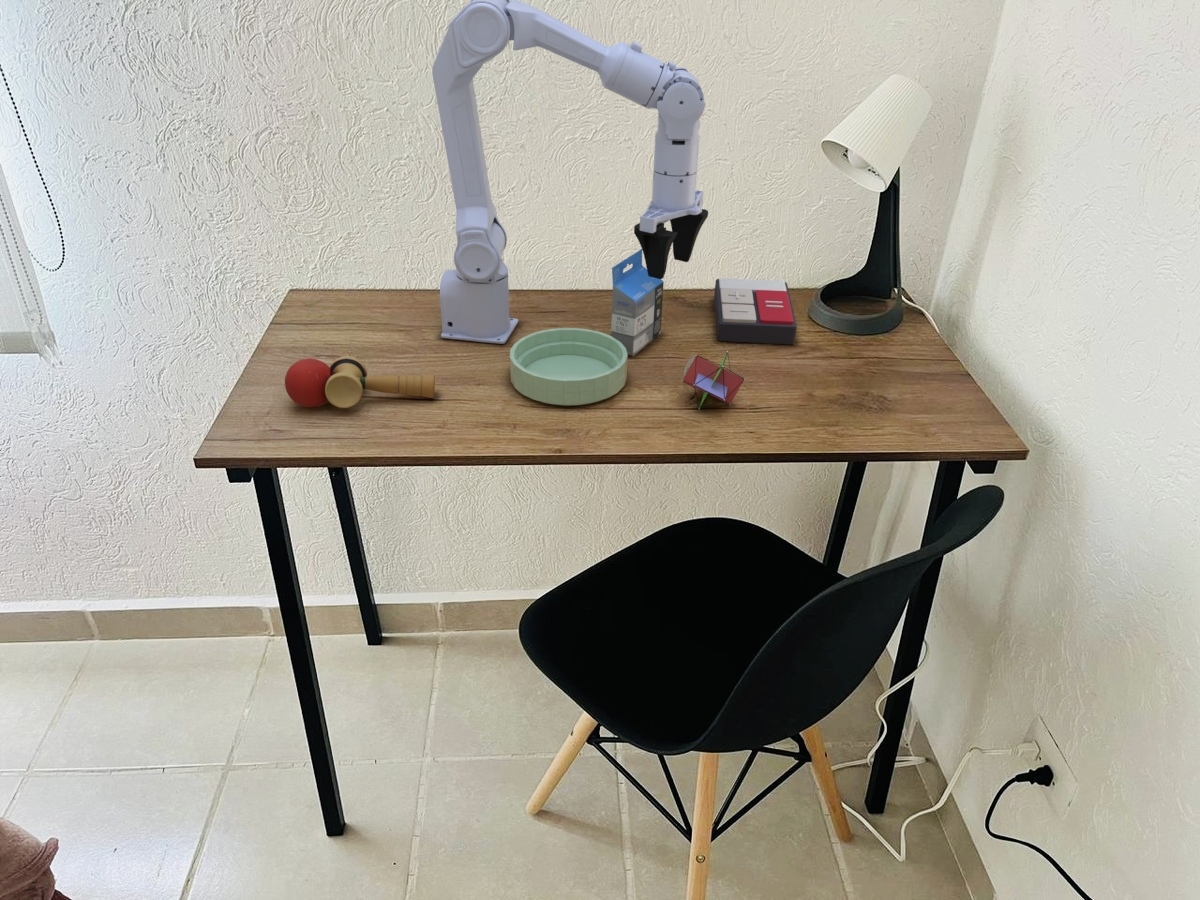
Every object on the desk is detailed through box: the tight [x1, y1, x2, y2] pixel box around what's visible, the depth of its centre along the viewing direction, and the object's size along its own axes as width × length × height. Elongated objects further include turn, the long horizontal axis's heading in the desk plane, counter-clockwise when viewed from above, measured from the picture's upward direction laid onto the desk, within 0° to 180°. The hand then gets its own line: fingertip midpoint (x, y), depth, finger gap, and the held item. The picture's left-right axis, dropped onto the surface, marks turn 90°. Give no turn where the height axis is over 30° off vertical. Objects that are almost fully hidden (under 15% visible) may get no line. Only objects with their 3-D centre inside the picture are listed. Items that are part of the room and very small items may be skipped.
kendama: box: [284, 355, 436, 409], centre depth 114 cm, size 8×6×18 cm
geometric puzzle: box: [681, 350, 746, 410], centre depth 115 cm, size 7×7×8 cm
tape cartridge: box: [610, 248, 665, 357], centre depth 127 cm, size 9×4×12 cm, turn 151°
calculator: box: [713, 277, 798, 345], centre depth 136 cm, size 11×4×15 cm
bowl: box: [509, 327, 629, 407], centre depth 120 cm, size 15×15×4 cm
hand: (669, 268), depth 127 cm, fingers open, 7 cm apart
